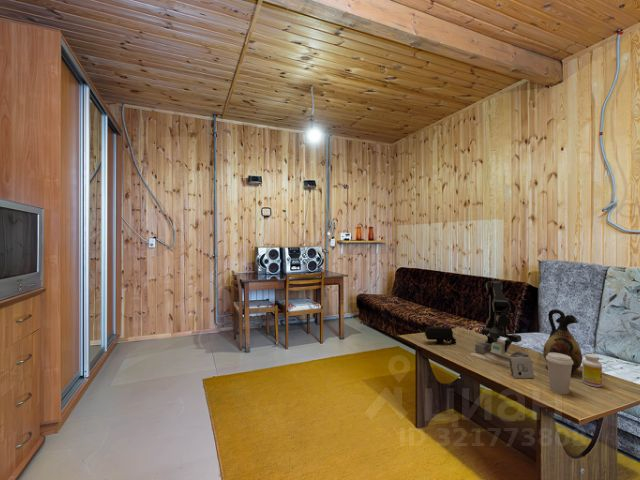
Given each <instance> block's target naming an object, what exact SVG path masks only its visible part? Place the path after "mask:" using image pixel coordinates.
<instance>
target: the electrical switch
mask: <svg viewBox="0 0 640 480" xmlns="http://www.w3.org/2000/svg"><path fill="white" fill-rule="evenodd" d="M531 360H532V358H531V357H529V356H528V357H511V358H509V362H510V368H509V369H510V374H511V376H513V378H514V379H534V378H535V374H534V368H533V364H532V363H533V361H532V362H531Z"/></svg>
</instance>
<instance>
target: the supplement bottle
mask: <svg viewBox="0 0 640 480" xmlns="http://www.w3.org/2000/svg"><path fill="white" fill-rule="evenodd" d="M584 357H585V359H582V364H581V366H582V370H581V371H582V372H581V373H582V377H581V378H582V383H584V384H585V385H587V386H589V387H595V388H600V387H602V386H603V385H602V384H603V365H602V363H601V362H600V361H599V360H600V357H599V356H598V355H595V354H591V353H586V354H585V355H584Z"/></svg>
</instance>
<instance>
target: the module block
mask: <svg viewBox="0 0 640 480" xmlns="http://www.w3.org/2000/svg"><path fill="white" fill-rule="evenodd" d="M491 349H492V352H493V353H496V354H499V355H503V354H506V353H507V354H509V353H510V347H509V348H508V350H507V352H505V341H502V340H498V342H494V343H492V344H491Z"/></svg>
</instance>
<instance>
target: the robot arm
mask: <svg viewBox="0 0 640 480" xmlns="http://www.w3.org/2000/svg"><path fill="white" fill-rule="evenodd" d="M485 288H486V291H487V293H488V294H489V313H488V314H489V317H488V318H487V319H486V322H485V325H484V328H482V329H481V331H480V334H481V335H484V336H486V337H487V338H486V339H487V340H486V341H484V342H485V343H489V344H491V345H492V343H494V342H498V341H499V339H500V338H501V337H502V338H505V339H504V341H503V342H505V352H507V350H508V348H509V349H510V345H511V344H512V343H519V342H522V336H521V335H519V334H515V333H512V334H509V333H508V331H507V329H508V328H507V327H508V326H510V324H511V319H510V317H509V316H508V314H509V315H510V314H511V312H512V307H511V303H510V302H509V301H508V298H507V297H506V296H505V295H504V293H503V282H502V281H500V280H491V281H489V280H488V281H487V282H486V283H485Z"/></svg>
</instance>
